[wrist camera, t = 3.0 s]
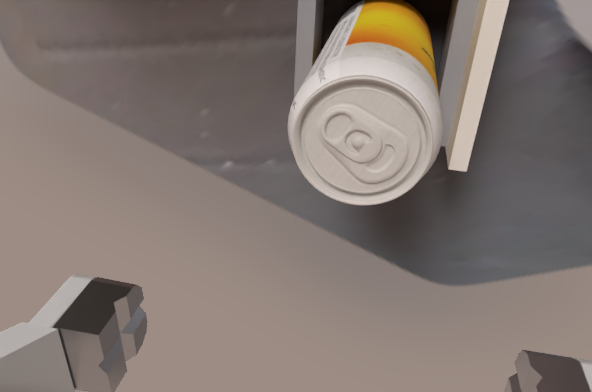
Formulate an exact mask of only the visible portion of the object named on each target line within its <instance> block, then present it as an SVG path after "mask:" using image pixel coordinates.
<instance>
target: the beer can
mask: <svg viewBox="0 0 592 392" xmlns="http://www.w3.org/2000/svg"><path fill="white" fill-rule="evenodd" d="M442 136H443V123H442V115H441V107H440V100H439V93H438V85H437V78H436V71H435V63H434V56H433V49H432V41H431V35H430V30H429V28H428V25H427V23H426V21H425V19H424V18H423V16H422V15H421V14H420V12H419V11H418V10H417V9H416V8H414V7H413V6H412V5H411V4H409V3H407V2H405V1H403V0H362V1H360V2H358V3H357V4H355V5H353V6H352V7H351V8H349V9H348V10H347V11H346V12H345V13H344V15H343V16H342V17H341V18H340V20H339V21H338V23H337V25H336V26H335V28H334V30H333V32H332V33H331V35H330V37H329V39H328V40H327V42H326V44H325V46H324V47H323V49H322V51H321V53H320V54H319V56H318V58H317V60H316V61H315V63H314V65H313V67H312V68H311V70H310V72H309V73H308V75H307V77H306V79H305V80H304V82H303V84H302V86H301V87H300V89H299V91H298V93H297V95H296V96H295V98H294V100H293V103H292V106H291V108H290V113H289V118H288V137H289V142H290V146H291V149H292V152H293V154H294V157H295V160H296V162H297V165H298V167H299V169H300V170H301V172H302V174H303V175H304V176H305V178H306V179H307V180H308V181H309V182H310V184H312V185H313V186H314V187H315V188H316V189H317V190H319V191H320V192H321V193H323V194H325V195H326V196H328V197H330V198H332V199H334V200H337V201H340V202H343V203H347V204H352V205H376V204H381V203H385V202H388V201H391V200H394V199H396V198H398V197H400V196H402V195H403V194H405V193H406V192H408V191H409V190H410V189H411V188H412V187H414V186H415V185H416V183H417V182H418V181H419V180H420V179H421V178H422V177H423V176H424V175H425V174H426V173H427V172H428V171H429V169H430V168H431V167H432V165H433V163H434V161H435V160H436V158H437V155H438V153H439V150H440V147H441V143H442Z"/></svg>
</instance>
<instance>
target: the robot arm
mask: <svg viewBox="0 0 592 392" xmlns="http://www.w3.org/2000/svg"><path fill="white" fill-rule="evenodd" d="M143 299H144V297H143V292H142V288H141V287H140V286H138V285H135V284H129V283H124V282H119V281H114V280H109V279H104V278H99V277H97V278H96V277H91V276H86V275H81V274H75V275H73V276H71V277H70V278H69V279H68V280H67V281H66V282H65V283H64V284H63V285H62V286H61V287H60V289H59V290H58V291H57V292H56V293H55V294H54V295H53V296H52V298H51V299H50V300H49V301H48V302H47V303H46V304H45V305H44V307H43V308H42V309H41V310H40V311H39V312H38V313H37V314H36V315H35V317H34V318H33V319H32V320H31V321H30V322H29V323H23V322H22V323H19V324H17V325H15V326H13V327H11V328H9V329H6V330H4V331H2V332H0V392H75V389H76V390H82V391H88V392H115V390H116V388H117V387H118V385H119V383H120V382H121V380H122V378H123V377H124V375H125V373H126V372H127V368H126V362H125V361H127V360H129V359H130V358H132V357H133V356H135V355H137V353H138V351H139V349H140V348H141V346H142V344H143V341H144V338H145V334H146V329H147V318H146V313H145V312H144V311H143V309H142V308H141V307H140V306H139V305H140V304H141V302H142V301H143ZM515 365H516V370H517V373H516V374H515V375H513V376H511V377H509V379H508V382H507V385H506V388H505V392H592V361H590V360H583V359H577V358H575V359H573V358H570V357H564V356H558V355H551V354H545V353H539V352H533V351H526V350H522V351H521V352H520V353H519V354H518V357H517V359H516V362H515Z"/></svg>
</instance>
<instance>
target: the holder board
mask: <svg viewBox="0 0 592 392" xmlns="http://www.w3.org/2000/svg"><path fill="white" fill-rule="evenodd" d="M324 1H325V0H298V13H297V36H296V60H295V83H294V98H295V96H296V95H297V93H298V91H299V89H300V87H301V86H302V84H303V82H304V80H305V79H306V77H307V75H308V73H309V72H310V70H311V68H312V67H313V65H314V63H315V61H316V60H317V58H318V56H319V54H320V53H321V44H322V30H323V15H324ZM508 4H509V0H452V2H451V7H450V12H449V18H448V23H447V28H446V33H445V38H444V43H443V49H442V54H441V59H440V64H439V69H438V74H437V85H438V93H439V100H440V107H441V115H442V123H443V136H442V143H441V146H445V148H446V156H447V163H448V169H449V170H457V171H465V172H467V168H468V164H469V160H470V156H471V152H472V148H473V144H474V140H475V136H476V132H477V128H478V124H479V120H480V116H481V112H482V108H483V104H484V100H485V96H486V92H487V88H488V84H489V80H490V76H491V72H492V68H493V64H494V60H495V56H496V52H497V48H498V44H499V40H500V36H501V32H502V28H503V24H504V20H505V16H506V12H507V8H508Z"/></svg>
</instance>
